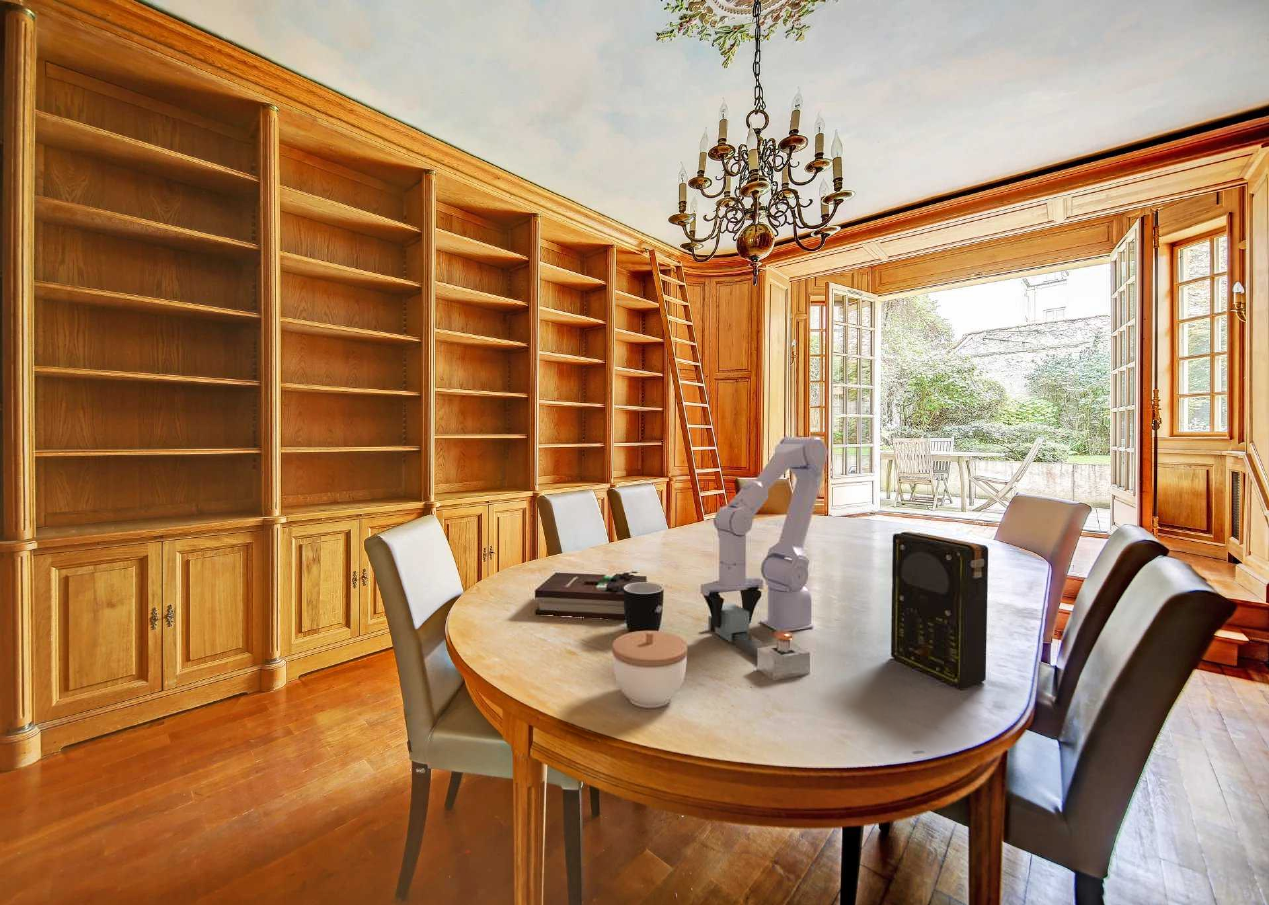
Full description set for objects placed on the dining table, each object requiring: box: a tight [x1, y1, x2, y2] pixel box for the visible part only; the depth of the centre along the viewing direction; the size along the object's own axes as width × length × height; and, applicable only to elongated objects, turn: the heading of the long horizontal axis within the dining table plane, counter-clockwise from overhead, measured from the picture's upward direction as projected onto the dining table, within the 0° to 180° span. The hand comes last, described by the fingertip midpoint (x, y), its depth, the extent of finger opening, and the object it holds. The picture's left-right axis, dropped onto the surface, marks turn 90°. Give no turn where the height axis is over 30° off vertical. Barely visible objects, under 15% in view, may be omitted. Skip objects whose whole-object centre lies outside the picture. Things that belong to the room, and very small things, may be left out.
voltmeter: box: [890, 531, 989, 690], centre depth 100 cm, size 16×9×25 cm, turn 23°
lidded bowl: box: [611, 630, 689, 709], centre depth 90 cm, size 13×13×11 cm
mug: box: [623, 581, 664, 633], centre depth 121 cm, size 12×9×10 cm
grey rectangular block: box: [756, 641, 811, 681], centre depth 99 cm, size 8×5×4 cm, turn 111°
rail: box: [707, 615, 768, 660], centre depth 112 cm, size 5×22×3 cm, turn 21°
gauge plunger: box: [774, 630, 794, 655], centre depth 99 cm, size 3×3×5 cm
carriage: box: [714, 603, 750, 643], centre depth 116 cm, size 5×6×6 cm
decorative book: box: [534, 570, 648, 621], centre depth 137 cm, size 19×8×30 cm
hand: (732, 624), depth 116 cm, fingers open, 7 cm apart
